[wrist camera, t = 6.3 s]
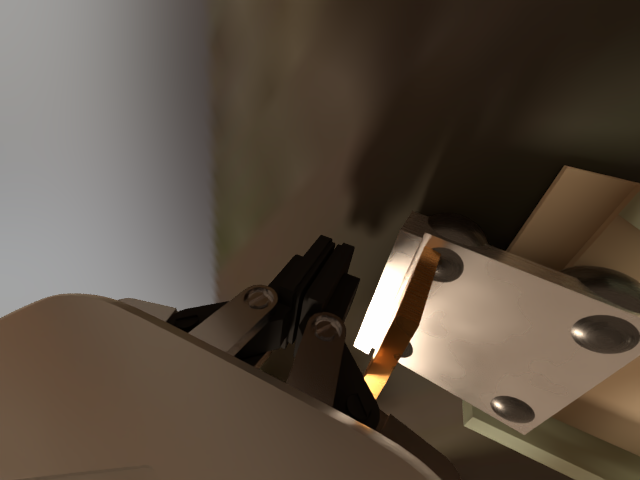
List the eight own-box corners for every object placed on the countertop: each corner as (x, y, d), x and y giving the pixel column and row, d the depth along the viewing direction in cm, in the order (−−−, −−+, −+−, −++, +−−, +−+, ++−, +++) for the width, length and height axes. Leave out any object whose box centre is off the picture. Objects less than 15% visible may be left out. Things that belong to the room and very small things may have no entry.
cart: (663, 273, 9) (903, 517, 4) (523, 391, 13) (546, 579, 8) (423, 191, 12) (370, 266, 7) (372, 311, 16) (317, 414, 11)
